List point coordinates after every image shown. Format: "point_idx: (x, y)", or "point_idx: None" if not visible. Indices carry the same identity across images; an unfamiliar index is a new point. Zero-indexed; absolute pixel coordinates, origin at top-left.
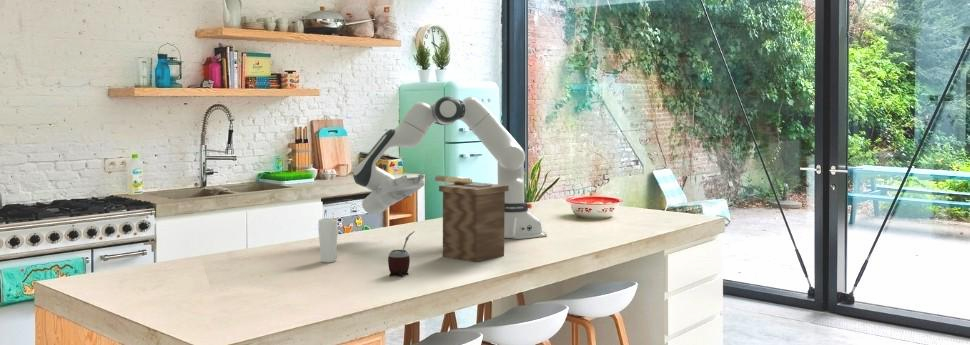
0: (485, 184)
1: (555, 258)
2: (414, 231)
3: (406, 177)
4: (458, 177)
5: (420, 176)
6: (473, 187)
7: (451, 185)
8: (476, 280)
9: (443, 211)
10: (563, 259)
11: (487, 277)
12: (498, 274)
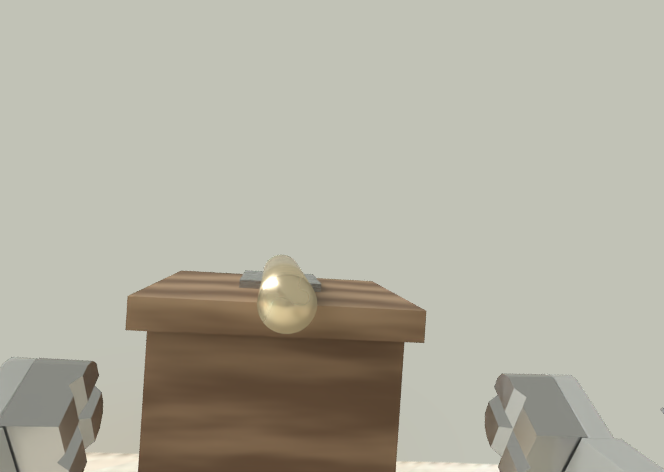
0: (259, 273)
1: (130, 468)
2: (661, 409)
3: (502, 399)
4: (290, 260)
5: (80, 411)
6: (333, 284)
7: (357, 301)
8: (491, 467)
9: (395, 450)
10: (134, 456)
11: (450, 467)
12: (407, 467)
